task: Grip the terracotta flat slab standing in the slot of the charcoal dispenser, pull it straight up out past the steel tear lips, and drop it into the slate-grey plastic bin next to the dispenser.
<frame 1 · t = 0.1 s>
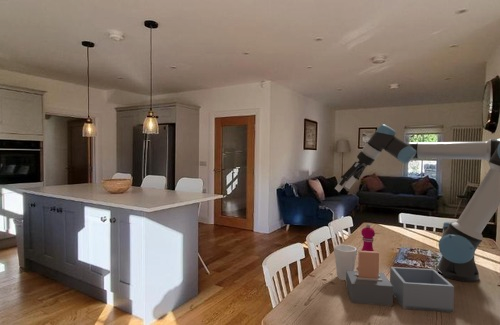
hand: (342, 188, 150), 36 cm above the table, tool tilted 35°, fingers open, 13 cm apart
dispenser: (367, 296, 113), on the table
pepper mill: (367, 266, 144), on the table
terracotta flat slab: (368, 291, 113), point 2 cm above the table, touching dispenser
foam cup: (344, 278, 130), on the table
bin: (419, 299, 111), on the table
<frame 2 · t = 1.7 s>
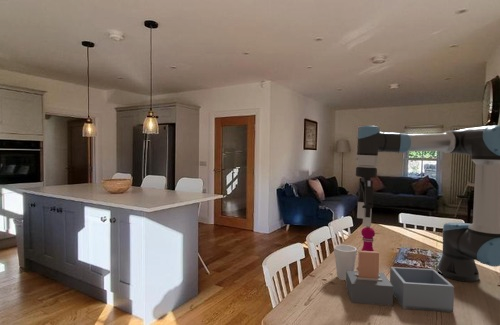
hand: (363, 221, 115), 28 cm above the table, tool pointing down, fingers open, 13 cm apart
nothing on the table moved.
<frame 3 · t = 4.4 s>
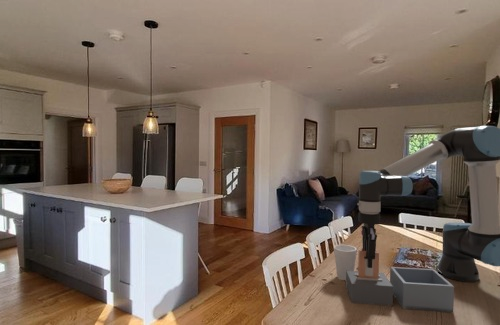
hand: (368, 274, 113), 8 cm above the table, tool pointing down, fingers closed on terracotta flat slab, 2 cm apart
terracotta flat slab: (368, 291, 113), point 2 cm above the table, touching dispenser, gripper
everything else where it was.
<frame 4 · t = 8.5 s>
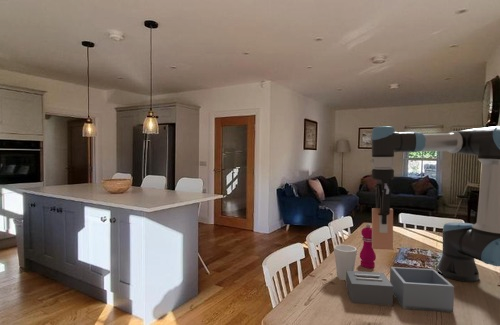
hand: (382, 231, 112), 25 cm above the table, tool pointing down, fingers closed on terracotta flat slab, 2 cm apart
terracotta flat slab: (382, 248, 112), point 18 cm above the table, touching gripper
everything else where it was.
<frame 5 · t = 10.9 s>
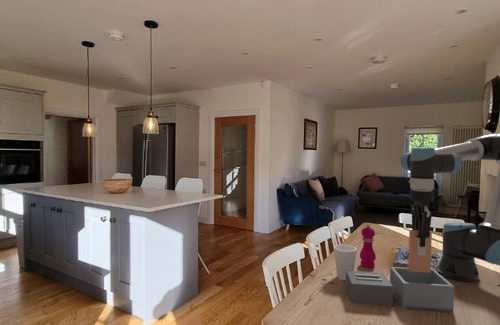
hand: (419, 253, 110), 17 cm above the table, tool pointing down, fingers closed on terracotta flat slab, 2 cm apart
terracotta flat slab: (419, 271, 110), point 11 cm above the table, touching gripper
everything else where it was.
when the fingers open (10 cm above the table, at t = 12.7 s): terracotta flat slab drops 3 cm, resting on bin.
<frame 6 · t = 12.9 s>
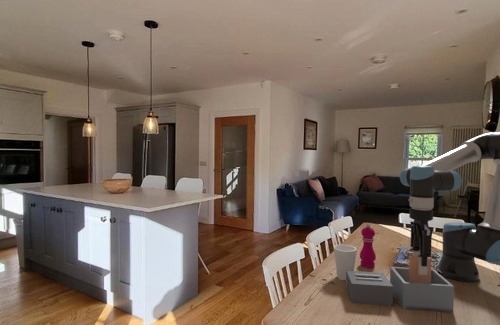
hand: (419, 271, 110), 11 cm above the table, tool pointing down, fingers open, 5 cm apart
terracotta flat slab: (419, 297, 111), point 1 cm above the table, touching bin
everything else where it was.
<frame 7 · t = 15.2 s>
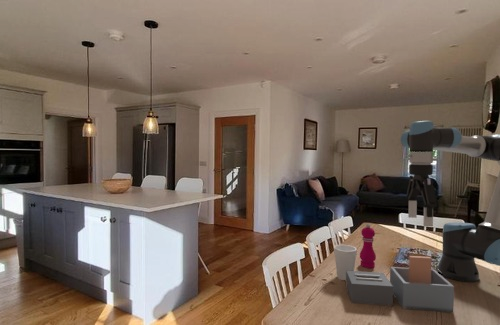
hand: (419, 221, 111), 29 cm above the table, tool pointing down, fingers open, 13 cm apart
nothing on the table moved.
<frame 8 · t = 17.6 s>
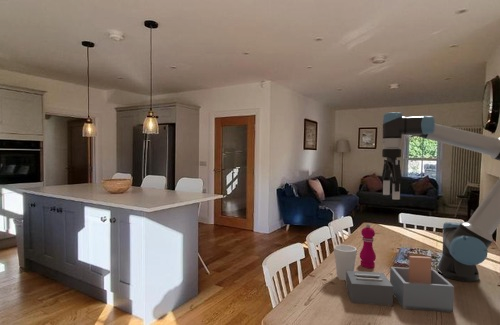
hand: (390, 197, 132), 35 cm above the table, tool pointing down, fingers open, 13 cm apart
nothing on the table moved.
at the end: terracotta flat slab inside the target area on the bin (0.0 cm from its centre), point 1.0 cm above the bin's base; the gripper is holding nothing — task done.
